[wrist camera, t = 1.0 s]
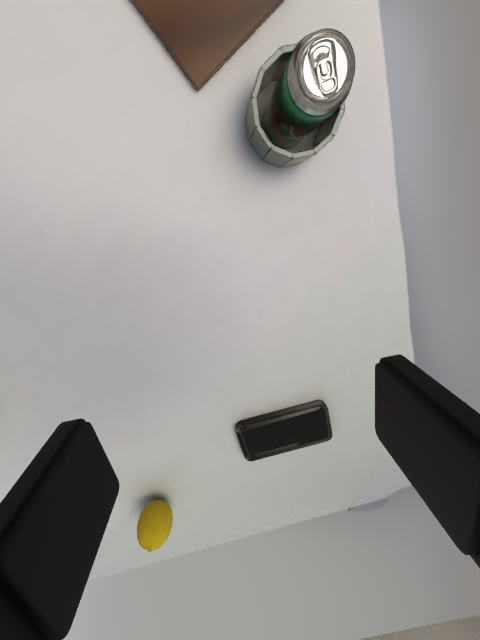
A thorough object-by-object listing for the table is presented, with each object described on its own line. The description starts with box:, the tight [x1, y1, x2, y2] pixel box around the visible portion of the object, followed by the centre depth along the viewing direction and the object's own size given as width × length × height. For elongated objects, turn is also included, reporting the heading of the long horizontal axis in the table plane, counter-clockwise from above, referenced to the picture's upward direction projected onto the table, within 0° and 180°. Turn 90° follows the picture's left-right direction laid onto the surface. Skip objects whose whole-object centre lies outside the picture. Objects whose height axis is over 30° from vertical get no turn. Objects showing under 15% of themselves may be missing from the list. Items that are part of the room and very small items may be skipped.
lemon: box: [137, 499, 173, 552], centre depth 46 cm, size 6×6×8 cm
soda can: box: [263, 29, 355, 148], centre depth 25 cm, size 5×5×12 cm
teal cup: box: [245, 43, 345, 168], centre depth 28 cm, size 9×9×6 cm
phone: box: [236, 400, 332, 461], centre depth 45 cm, size 8×1×15 cm
